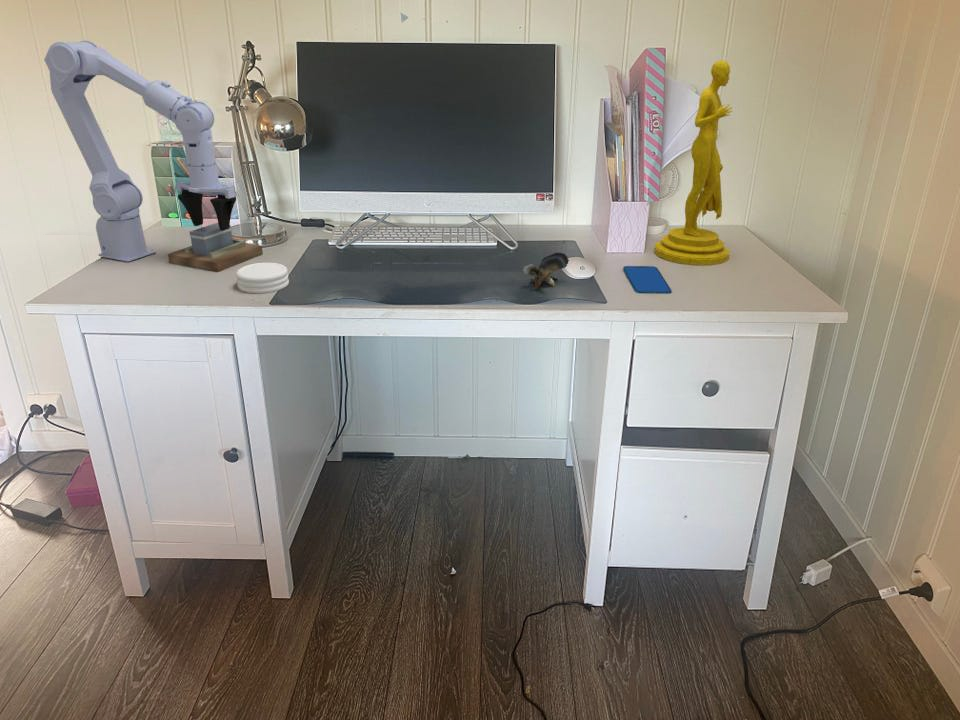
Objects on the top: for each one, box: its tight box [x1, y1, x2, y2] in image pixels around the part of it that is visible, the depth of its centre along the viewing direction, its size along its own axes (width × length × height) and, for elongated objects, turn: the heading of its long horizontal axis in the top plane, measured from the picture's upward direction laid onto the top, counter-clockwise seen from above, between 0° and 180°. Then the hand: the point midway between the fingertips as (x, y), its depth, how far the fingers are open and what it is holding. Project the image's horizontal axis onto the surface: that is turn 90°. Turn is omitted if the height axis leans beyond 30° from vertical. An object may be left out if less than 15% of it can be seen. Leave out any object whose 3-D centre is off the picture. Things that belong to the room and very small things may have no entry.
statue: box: [653, 60, 733, 266], centre depth 154 cm, size 17×17×41 cm
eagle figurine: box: [522, 252, 570, 290], centre depth 142 cm, size 8×7×9 cm
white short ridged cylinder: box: [235, 262, 290, 294], centre depth 142 cm, size 10×10×4 cm
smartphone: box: [622, 265, 672, 295], centre depth 146 cm, size 7×1×15 cm
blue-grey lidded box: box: [189, 222, 233, 256], centre depth 155 cm, size 4×8×5 cm, turn 155°
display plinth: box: [167, 237, 264, 273], centre depth 157 cm, size 14×14×3 cm
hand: (211, 227), depth 154 cm, fingers open, 7 cm apart
